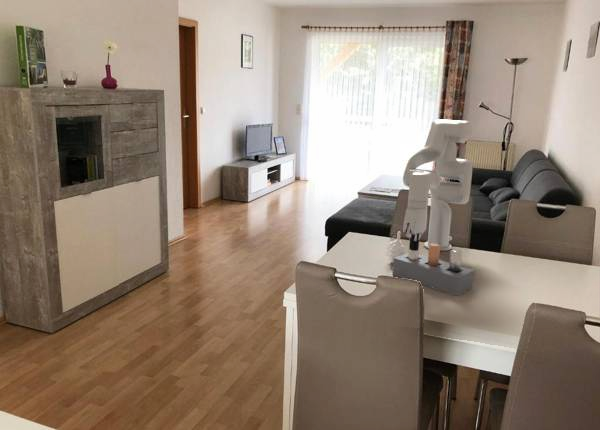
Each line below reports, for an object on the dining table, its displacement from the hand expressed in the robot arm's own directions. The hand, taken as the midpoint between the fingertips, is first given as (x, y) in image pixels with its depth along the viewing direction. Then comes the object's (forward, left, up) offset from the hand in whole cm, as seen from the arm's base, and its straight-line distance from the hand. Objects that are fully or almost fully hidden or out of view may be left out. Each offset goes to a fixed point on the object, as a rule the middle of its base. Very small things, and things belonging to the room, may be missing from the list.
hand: (413, 249), depth 199 cm
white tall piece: (-7, -13, -11) cm, 19 cm away
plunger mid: (0, +9, -4) cm, 10 cm away
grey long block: (0, +9, -11) cm, 14 cm away
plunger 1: (0, 0, -8) cm, 8 cm away
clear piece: (0, +18, -4) cm, 18 cm away
